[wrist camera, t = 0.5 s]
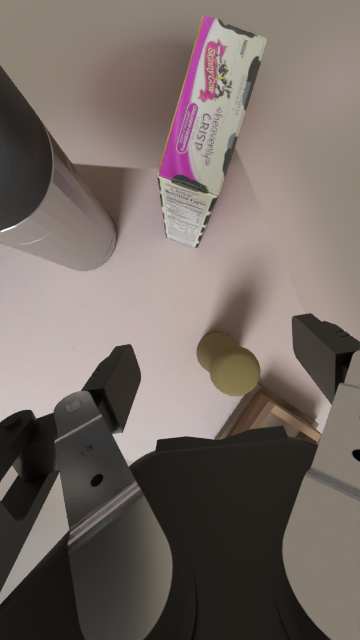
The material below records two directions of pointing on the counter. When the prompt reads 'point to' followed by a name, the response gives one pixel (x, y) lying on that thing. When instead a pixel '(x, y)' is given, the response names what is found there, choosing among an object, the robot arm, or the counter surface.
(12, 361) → the counter surface
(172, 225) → the candy bar box
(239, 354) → the olive knobbed peg
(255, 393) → the walnut socket
